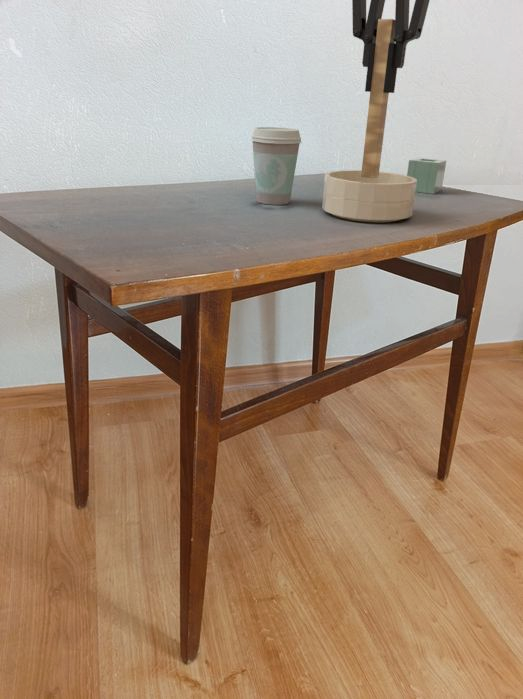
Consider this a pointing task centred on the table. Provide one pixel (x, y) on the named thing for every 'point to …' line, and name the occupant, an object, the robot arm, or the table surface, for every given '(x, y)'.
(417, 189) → the holder
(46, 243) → the table surface
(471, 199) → the table surface
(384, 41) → the stick
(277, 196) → the coffee cup
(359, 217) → the bowl
